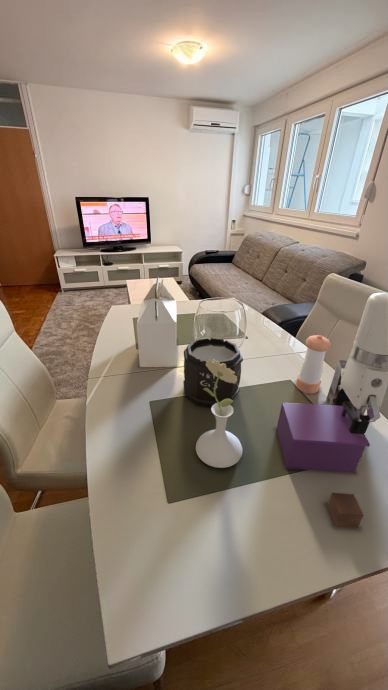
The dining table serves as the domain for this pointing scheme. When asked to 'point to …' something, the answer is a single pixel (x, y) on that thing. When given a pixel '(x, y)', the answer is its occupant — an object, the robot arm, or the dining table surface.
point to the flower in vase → (219, 426)
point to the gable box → (157, 328)
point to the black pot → (203, 378)
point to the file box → (316, 453)
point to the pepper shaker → (312, 364)
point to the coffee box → (334, 386)
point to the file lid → (323, 424)
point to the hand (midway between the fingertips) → (348, 417)
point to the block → (345, 510)
